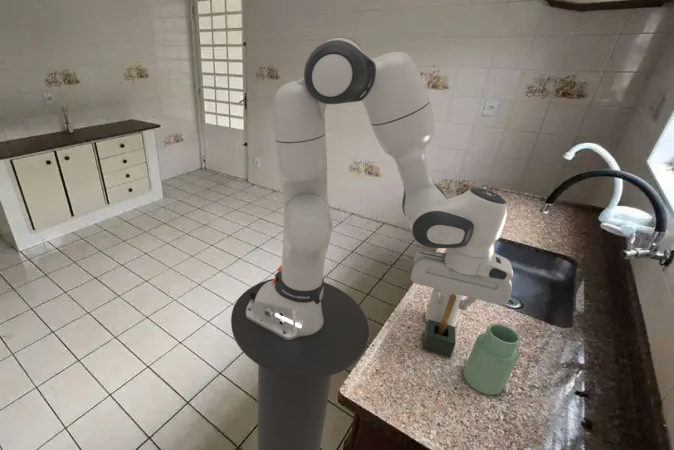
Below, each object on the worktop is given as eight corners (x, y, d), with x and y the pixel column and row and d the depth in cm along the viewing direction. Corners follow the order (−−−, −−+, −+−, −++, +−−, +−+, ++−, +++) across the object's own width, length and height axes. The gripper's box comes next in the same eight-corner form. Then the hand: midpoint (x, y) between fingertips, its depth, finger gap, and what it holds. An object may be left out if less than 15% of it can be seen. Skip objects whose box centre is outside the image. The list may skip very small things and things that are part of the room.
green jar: (463, 386, 81) (484, 339, 74) (462, 361, 87) (481, 316, 80) (504, 400, 78) (529, 353, 71) (500, 373, 84) (523, 327, 77)
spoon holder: (422, 349, 91) (427, 335, 89) (423, 332, 96) (428, 319, 94) (450, 357, 88) (455, 343, 86) (450, 340, 93) (455, 326, 91)
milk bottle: (453, 335, 95) (475, 276, 85) (422, 325, 98) (440, 266, 89) (455, 318, 101) (476, 261, 91) (426, 309, 104) (443, 252, 95)
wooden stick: (433, 347, 92) (450, 296, 83) (433, 340, 93) (450, 290, 85) (439, 348, 91) (457, 298, 83) (439, 342, 93) (457, 292, 85)
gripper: (415, 253, 81) (403, 300, 87) (522, 277, 73) (499, 326, 79) (417, 241, 86) (406, 286, 92) (517, 262, 78) (496, 309, 84)
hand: (450, 305), depth 86 cm, fingers open, 4 cm apart
